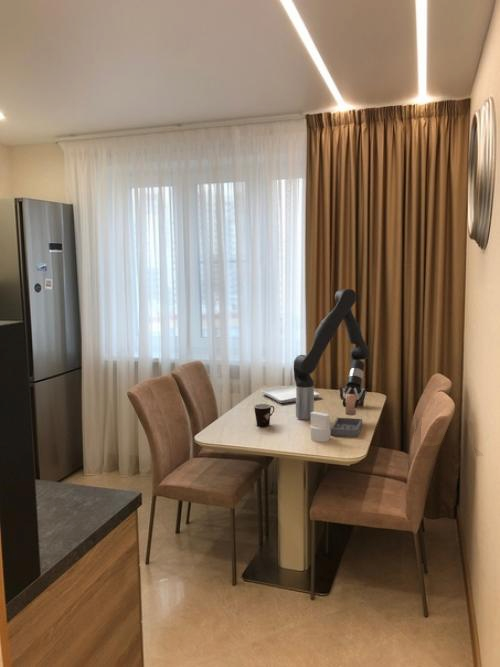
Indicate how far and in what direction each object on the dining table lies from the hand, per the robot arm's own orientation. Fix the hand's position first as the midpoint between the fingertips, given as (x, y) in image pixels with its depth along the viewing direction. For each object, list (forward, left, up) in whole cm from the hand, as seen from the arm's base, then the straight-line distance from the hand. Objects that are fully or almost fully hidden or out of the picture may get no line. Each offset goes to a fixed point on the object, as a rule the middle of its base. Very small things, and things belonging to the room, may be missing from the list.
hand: (350, 406), depth 278 cm
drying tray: (-5, -12, -8) cm, 16 cm away
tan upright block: (+1, +2, -4) cm, 5 cm away
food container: (+10, +30, -8) cm, 32 cm away
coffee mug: (-43, +4, -8) cm, 44 cm away
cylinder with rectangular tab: (-20, -21, -8) cm, 30 cm away
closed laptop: (-23, +56, -9) cm, 61 cm away
